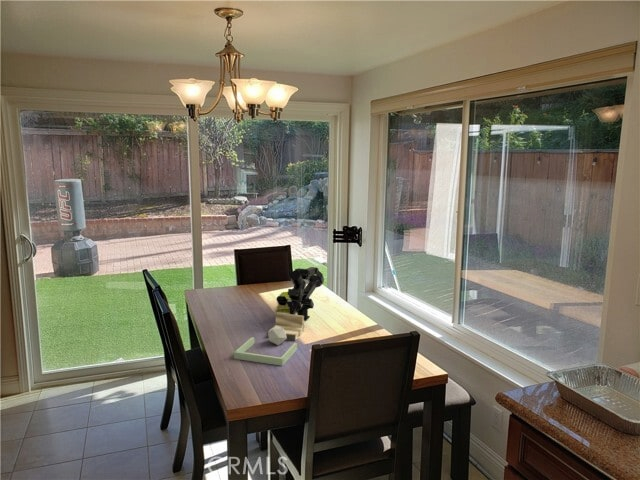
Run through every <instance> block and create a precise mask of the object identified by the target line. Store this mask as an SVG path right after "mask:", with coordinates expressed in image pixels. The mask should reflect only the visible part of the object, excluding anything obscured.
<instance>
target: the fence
mask: <svg viewBox="0 0 640 480" xmlns="http://www.w3.org/2000/svg"><path fill="white" fill-rule="evenodd" d="M253 345H255V337H253V336H252V337H250V338H249V339H248V340H247V341H245V342H244V343H243V344H242V345H240V347H238V348H237V349H235V351H234V352H233V359H234V360H243V361H248V362H255V363H261V364H268V365H269V364H270V365H274V366H281V367H283V366H284V365H285V364H286V363H287V361H288V360H289V359H290V358H291V357H292V355H294V353H295V352H296V351H297V350H298V343H297V342H294V343H293V344H292V345H291V346H290V347H289V348H288V349H287V350H286V351H285V353H284V354H282V355H281V357H279V356H272V355H267V354H266V355H265V354H260V353H259V354H258V353H252V352H246V351H248V350H249V349H250V348H251V347H252V346H253Z"/></svg>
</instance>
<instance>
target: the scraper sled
mask: <svg viewBox="0 0 640 480" xmlns="http://www.w3.org/2000/svg"><path fill="white" fill-rule="evenodd" d="M304 323H305V320H304V316H302V315H297V314H295V315H293V314H290V313H285V312H277V313H275V325H274V326H273V327H272V328H270V329H269V330H268V331H267V333H268V332H269V331H270V330H271V329H273V328H274V327H275V326H276V325H277V326H279V327H281V328H283V329H284V330H285V332H286V337H287V339H285V340H284V341H288V342H289V341H291V342H296V340H297V339H299V338H300V337H301V336H302V334H303V333H304V332H305V326H304V325H305V324H304ZM267 338H268V339H269V336H268V335H267Z"/></svg>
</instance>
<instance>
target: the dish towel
mask: <svg viewBox="0 0 640 480" xmlns="http://www.w3.org/2000/svg"><path fill="white" fill-rule="evenodd" d="M280 296H285V297H286V299H290V298H289V295H288V291H283V292H281V294H280ZM277 304H278V303H277ZM276 312H277V313H290V309H289V307H288V305H287V304H286V305H285V306H284V305H279V304H278V305H277V307H276Z"/></svg>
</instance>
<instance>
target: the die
mask: <svg viewBox="0 0 640 480" xmlns="http://www.w3.org/2000/svg"><path fill="white" fill-rule="evenodd" d="M275 325H276V324H275ZM275 325H274V326H275ZM274 326H273V327H274ZM273 327H272V328H273ZM272 328H270V329H271V330H270V329H269V330H270V331H269V330H268V331H269V332H268V331H267V337H268V336H269V338H268V340H269V341H270V342H271V344H274V345H276V346H279V345H281V344H282V343H283V342H285V341H286V340H285V339H287V337H286V332H285V330H284V329H283V328H281V327H279V326H277V325H276V326H275V327H274V328H273V329H272Z"/></svg>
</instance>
